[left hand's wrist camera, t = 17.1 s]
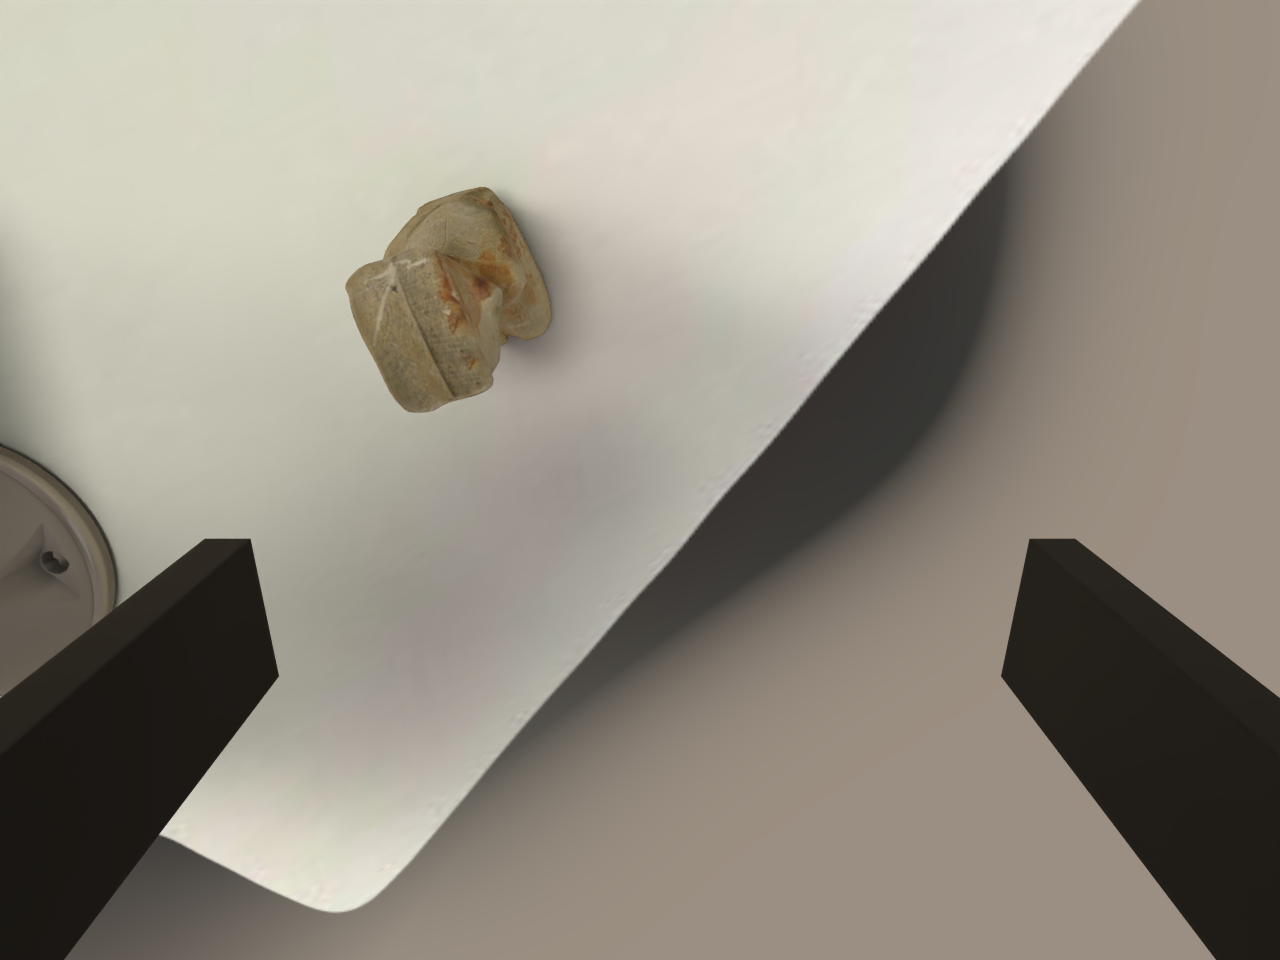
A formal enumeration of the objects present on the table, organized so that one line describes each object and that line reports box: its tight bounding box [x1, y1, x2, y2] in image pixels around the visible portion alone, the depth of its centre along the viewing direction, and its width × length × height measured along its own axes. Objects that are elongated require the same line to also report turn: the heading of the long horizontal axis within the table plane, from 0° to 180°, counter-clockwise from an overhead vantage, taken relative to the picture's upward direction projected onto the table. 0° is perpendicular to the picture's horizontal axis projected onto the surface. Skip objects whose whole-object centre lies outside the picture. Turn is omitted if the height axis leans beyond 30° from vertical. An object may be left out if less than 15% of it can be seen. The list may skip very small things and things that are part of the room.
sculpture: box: [345, 187, 551, 413], centre depth 30 cm, size 6×7×15 cm
